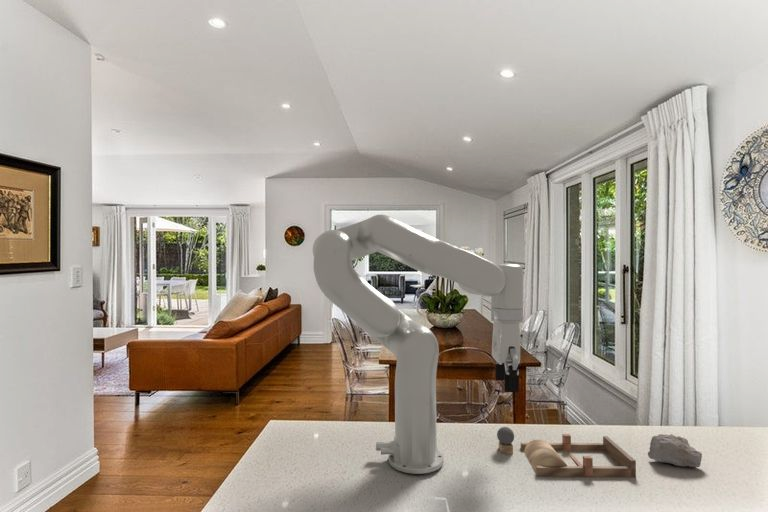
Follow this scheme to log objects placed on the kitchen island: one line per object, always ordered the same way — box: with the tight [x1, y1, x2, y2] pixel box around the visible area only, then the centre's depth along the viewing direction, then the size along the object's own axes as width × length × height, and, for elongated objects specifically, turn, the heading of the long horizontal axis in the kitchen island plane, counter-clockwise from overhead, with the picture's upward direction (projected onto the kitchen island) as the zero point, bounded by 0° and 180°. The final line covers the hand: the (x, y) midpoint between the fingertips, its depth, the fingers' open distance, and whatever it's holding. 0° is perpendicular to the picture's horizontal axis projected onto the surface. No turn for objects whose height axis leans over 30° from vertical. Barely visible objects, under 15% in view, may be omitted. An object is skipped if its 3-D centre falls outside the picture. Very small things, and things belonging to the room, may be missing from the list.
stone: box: [647, 433, 703, 468], centre depth 101 cm, size 8×10×6 cm
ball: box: [496, 426, 515, 445], centre depth 108 cm, size 4×4×4 cm
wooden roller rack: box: [520, 433, 637, 478], centre depth 102 cm, size 21×13×9 cm, turn 88°
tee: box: [498, 440, 514, 455], centre depth 108 cm, size 3×3×2 cm
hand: (506, 385), depth 107 cm, fingers open, 9 cm apart
